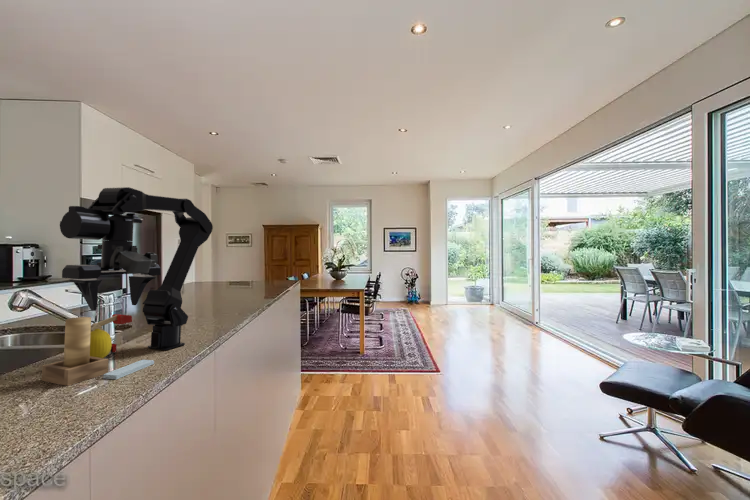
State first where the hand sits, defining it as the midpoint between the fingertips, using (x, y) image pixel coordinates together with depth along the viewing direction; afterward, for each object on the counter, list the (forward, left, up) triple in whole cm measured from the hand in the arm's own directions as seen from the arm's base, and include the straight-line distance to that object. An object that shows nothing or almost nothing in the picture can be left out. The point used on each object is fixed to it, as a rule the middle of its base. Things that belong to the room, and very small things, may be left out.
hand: (115, 307), depth 79 cm
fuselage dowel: (+8, +2, -12) cm, 15 cm away
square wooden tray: (+8, +2, -13) cm, 16 cm away
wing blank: (+2, +8, -13) cm, 15 cm away
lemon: (+1, -4, -13) cm, 14 cm away
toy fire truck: (-3, -9, -13) cm, 16 cm away
